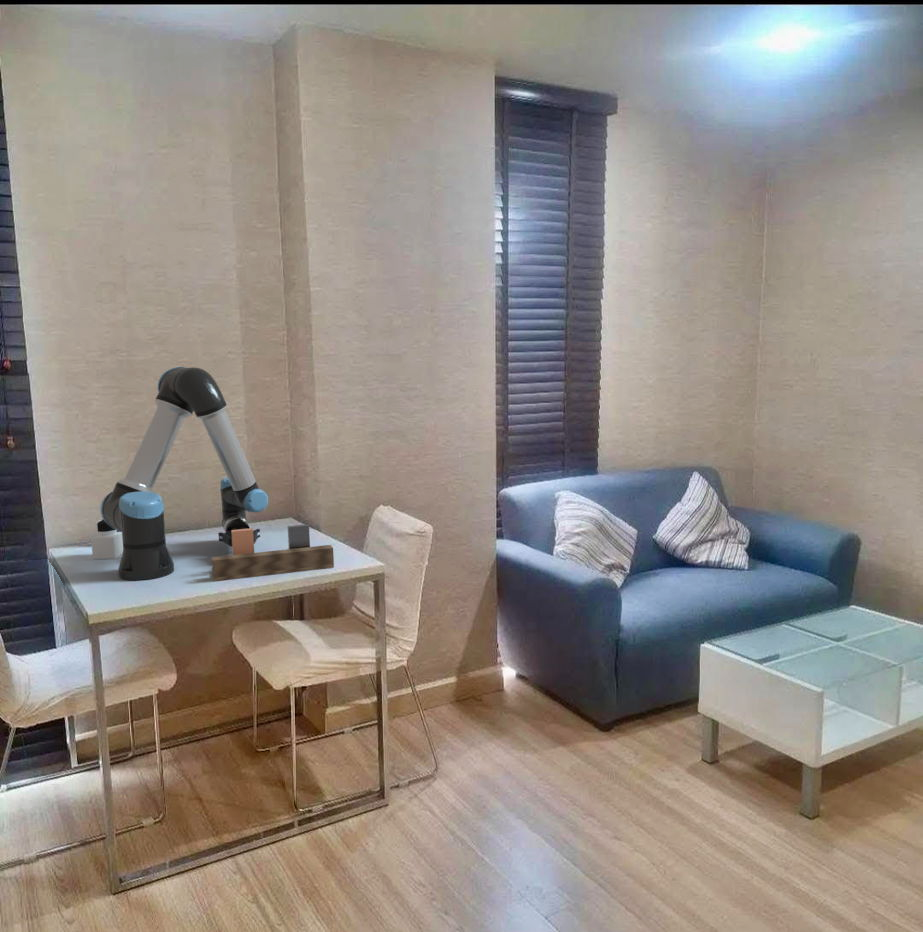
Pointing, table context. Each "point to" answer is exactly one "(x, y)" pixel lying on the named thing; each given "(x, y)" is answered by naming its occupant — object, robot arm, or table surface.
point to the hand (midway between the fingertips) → (244, 546)
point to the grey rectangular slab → (298, 536)
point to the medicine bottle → (106, 542)
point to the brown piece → (272, 562)
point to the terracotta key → (242, 541)
